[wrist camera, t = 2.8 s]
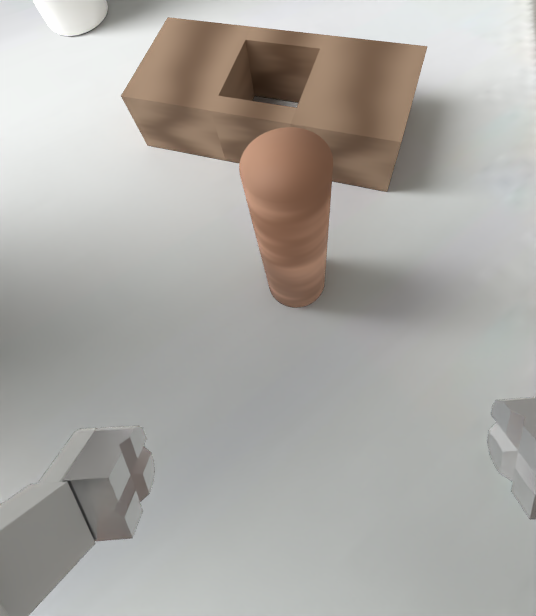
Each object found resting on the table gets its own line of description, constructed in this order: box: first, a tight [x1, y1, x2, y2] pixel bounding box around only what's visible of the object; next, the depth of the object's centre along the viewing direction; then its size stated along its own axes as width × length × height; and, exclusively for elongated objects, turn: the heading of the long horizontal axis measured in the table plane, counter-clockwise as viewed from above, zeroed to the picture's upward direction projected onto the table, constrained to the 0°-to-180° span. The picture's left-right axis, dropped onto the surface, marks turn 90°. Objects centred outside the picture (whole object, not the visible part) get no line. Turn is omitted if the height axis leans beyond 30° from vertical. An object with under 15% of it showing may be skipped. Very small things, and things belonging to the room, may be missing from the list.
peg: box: [239, 127, 333, 307], centre depth 22 cm, size 4×4×12 cm
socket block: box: [121, 17, 427, 192], centre depth 30 cm, size 21×9×5 cm, turn 72°
